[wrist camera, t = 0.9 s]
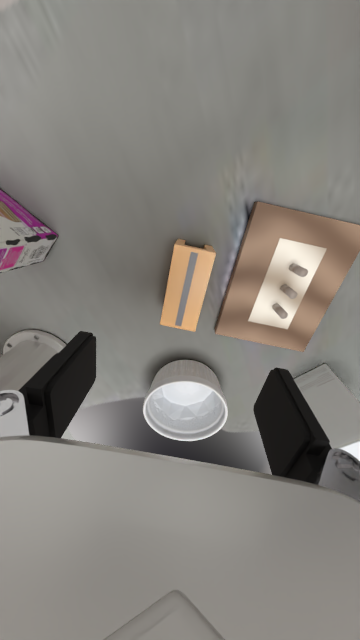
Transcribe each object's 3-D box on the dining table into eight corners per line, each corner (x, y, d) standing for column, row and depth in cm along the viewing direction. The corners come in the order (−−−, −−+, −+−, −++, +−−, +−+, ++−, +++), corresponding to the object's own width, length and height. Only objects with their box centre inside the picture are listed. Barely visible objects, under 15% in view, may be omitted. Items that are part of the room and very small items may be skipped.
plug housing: (194, 312, 33) (194, 332, 28) (165, 306, 33) (159, 324, 28) (211, 246, 29) (216, 253, 23) (178, 238, 29) (174, 244, 23)
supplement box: (284, 382, 38) (323, 453, 27) (325, 361, 36) (387, 430, 24) (303, 406, 40) (346, 482, 29) (343, 389, 38) (407, 463, 27)
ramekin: (221, 409, 42) (226, 443, 36) (154, 408, 43) (147, 441, 36) (224, 352, 36) (230, 381, 30) (146, 352, 37) (137, 380, 31)
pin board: (299, 346, 35) (313, 363, 31) (214, 329, 34) (217, 344, 30) (363, 227, 27) (393, 229, 23) (254, 202, 26) (265, 199, 22)
